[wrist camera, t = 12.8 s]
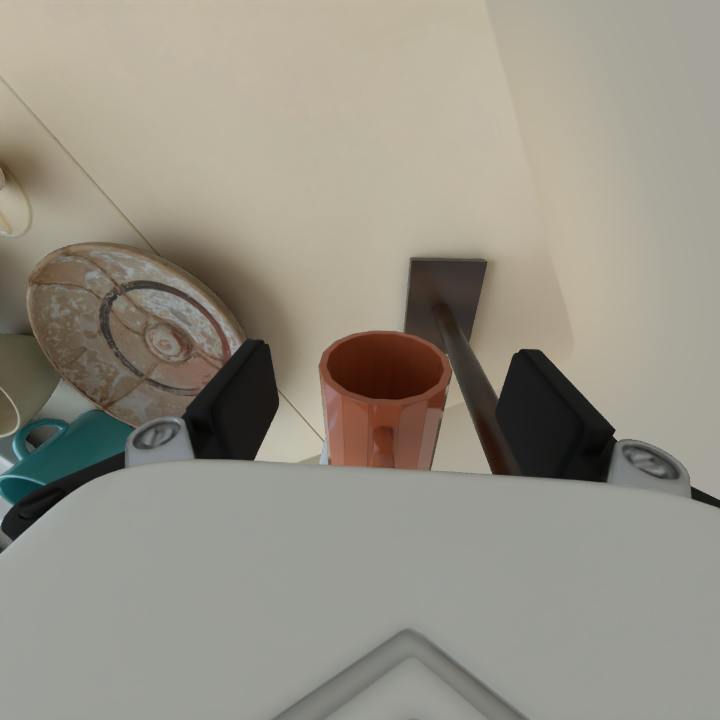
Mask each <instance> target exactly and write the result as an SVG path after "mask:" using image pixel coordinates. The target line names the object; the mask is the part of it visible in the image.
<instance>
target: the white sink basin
mask: <svg viewBox="0 0 720 720" xmlns="http://www.w3.org/2000/svg"><path fill="white" fill-rule="evenodd" d="M14 436H15V433H14V434H12V435H10V436H7V437H0V475H1V474H3V473H4V472H5V471H7V470H8V469H9V468H10V467H12V466H13V465H14V464H15V463H17V462H18V458H17V457H16V455H15V453H14V452H13V448H12V442H13V438H14ZM25 444H26V447H27V449H28V451H29V452H31V451H33V450H34V449H35V447H34V446H33V445H32V444H30V443H29V442H28V441H26V440H25ZM12 507H13V505H11V504H10V503H8V502H7V501H6V500H5V499H3V498H2V497H1V496H0V525H1V523H2V521H3V518H4V516H5V515H6V514H7V513H8V511H9V510H10V509H11V508H12Z"/></svg>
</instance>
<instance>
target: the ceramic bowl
mask: <svg viewBox="0 0 720 720" xmlns="http://www.w3.org/2000/svg"><path fill="white" fill-rule="evenodd" d="M26 306H27V312H28V317H29V321H30V325H31V328H32V330H33V333H34V335H35V337H36V339H37V341H38V343H39V345H40V347H41V349H42V350H43V352H44V354H45V355H46V357H47V359H48V360H49V362H50V363H51V364H52V366H53V367H54V368H55V369H56V371H57V372H58V373H59V374H60V375H61V376H62V377H63V379H64V380H65V381H66V382H67V383H69V384H70V385H71V386H72V387H73V388H74V389H75V390H77V391H78V392H79V393H80V394H81V395H82V396H84V397H85V398H86V399H87V400H89V401H90V402H91V403H93V404H94V405H96V406H97V407H99V408H100V409H102V410H103V411H104V412H106V413H108V414H109V415H111V416H113V417H115V418H117V419H118V420H120V421H122V422H125V423H127V424H129V425H131V426H133V427H136V428H138V427H139V426H141V425H143V424H144V423H146V422H148V421H151V420H153V419H156V418H160V417H164V416H177V417H180V418H181V417H182V416H183V414H184V413H185V412H186V408H187V406H188V405H189V404H190V403H191V402H192V401H193V400H194V398H195V397H196V396H197V395H198V394H199V393H200V392H201V390H202V389H203V388H204V387H205V386H206V385H207V384H208V383H209V381H210V380H211V379H212V378H213V377H214V376H215V375H216V373H217V372H218V371H219V370H220V369H221V368H222V367H223V365H224V364H225V363H226V362H227V361H228V360H229V359H230V357H231V356H232V355H233V354H234V353H235V352H236V351H237V349H238V348H239V347H240V346H241V345H242V344H243V343H244V342H245V340H247V337H246V335H245V333H244V332H243V330H242V328H241V326H240V324H239V323H238V321H237V320H236V318H235V317H234V315H233V314H232V313H231V312H230V310H229V309H228V308H227V306H226V305H225V304H224V303H223V302H222V301H221V300H220V298H219V297H218V296H217V295H216V294H215V293H214V292H213V291H212V290H211V289H210V288H209V287H207V286H206V285H205V284H204V283H202V282H201V281H200V280H198V279H197V278H196V277H194V276H193V275H192V274H190V273H189V272H187V271H186V270H184V269H182V268H181V267H179V266H177V265H176V264H174V263H172V262H170V261H168V260H166V259H164V258H162V257H159V256H157V255H155V254H152V253H150V252H147V251H144V250H141V249H138V248H134V247H131V246H127V245H121V244H115V243H103V242H91V243H79V244H74V245H69V246H67V247H63V248H60V249H58V250H55V251H53V252H52V253H50V254H48V255H47V256H45V257H44V258H43V259H42V260H41V261H40V262H39V263H38V265H37V266H36V267H35V268H34V270H33V271H32V273H31V274H30V276H29V281H28V287H27V294H26Z"/></svg>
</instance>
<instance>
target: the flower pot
mask: <svg viewBox="0 0 720 720" xmlns="http://www.w3.org/2000/svg"><path fill="white" fill-rule="evenodd" d="M60 378H61V375H60V374H59V373H58V372H57V371H56V369H55V368H54V367H53V366H52V364H51V363H50V362H49V360H48V359H47V357H46V355H45V354H44V352H43V350H42V349H41V347H40V345H39V343H38V341H37V339H36V337H33V336H28V335H18V334H0V437H7V436H10V435H12V434H14V433H15V432H17V431H18V430H19V429H21V428H22V427H23V426H24V425H25V424H26V423H28V422H29V421H30V420H31V419H32V418H33V417H34V416H35V415H36V414H37V413H38V412H39V410H40V409H41V408H42V407H43V406H44V405H45V403H46V402H47V401H48V399H49V398H50V396H51V395H52V393H53V392H54V390H55V388H56V387H57V384H58V382H59V380H60Z"/></svg>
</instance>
